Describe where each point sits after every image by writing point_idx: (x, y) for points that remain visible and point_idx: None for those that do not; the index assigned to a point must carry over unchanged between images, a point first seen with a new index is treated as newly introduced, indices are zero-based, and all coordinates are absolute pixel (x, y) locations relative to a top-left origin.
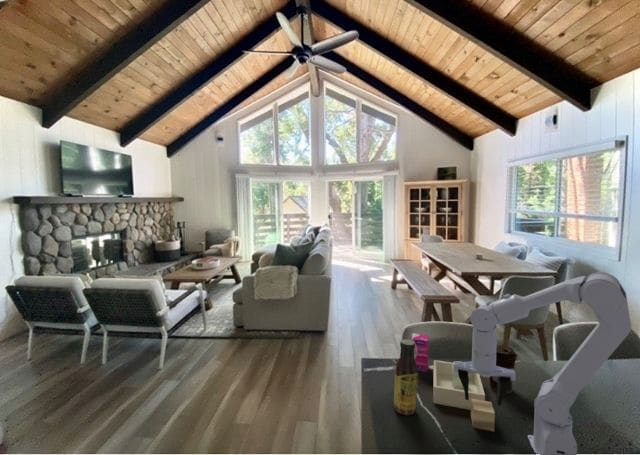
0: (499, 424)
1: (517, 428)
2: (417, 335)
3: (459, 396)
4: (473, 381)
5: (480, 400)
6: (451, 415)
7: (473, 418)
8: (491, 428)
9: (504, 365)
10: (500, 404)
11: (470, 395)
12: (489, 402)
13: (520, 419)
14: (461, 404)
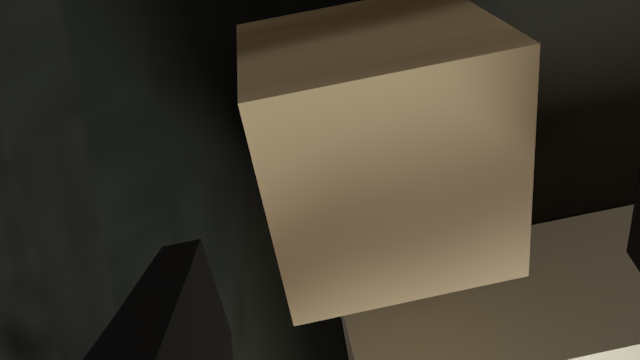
0: (199, 166)
1: (40, 188)
2: None
3: (600, 298)
4: None
5: (419, 295)
6: (626, 79)
7: (478, 7)
8: (265, 28)
9: None
10: (157, 259)
11: (506, 345)
12: (314, 307)
13: (44, 320)
14: (538, 248)
